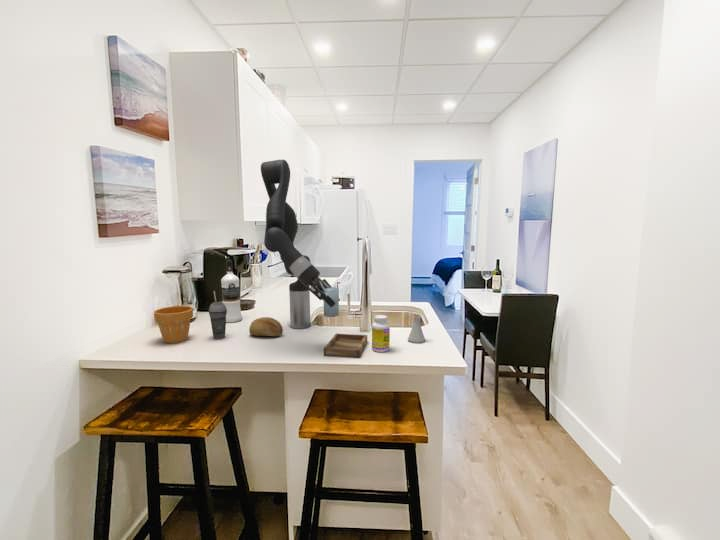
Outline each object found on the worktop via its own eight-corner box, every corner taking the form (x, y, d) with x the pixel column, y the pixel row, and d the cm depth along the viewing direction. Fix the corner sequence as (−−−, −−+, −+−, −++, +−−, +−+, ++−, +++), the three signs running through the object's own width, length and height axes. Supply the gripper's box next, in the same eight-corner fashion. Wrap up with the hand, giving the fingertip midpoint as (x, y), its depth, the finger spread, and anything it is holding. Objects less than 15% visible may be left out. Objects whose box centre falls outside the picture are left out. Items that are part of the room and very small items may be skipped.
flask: (427, 339, 150) (428, 315, 148) (422, 344, 143) (423, 319, 142) (410, 337, 153) (410, 313, 151) (405, 342, 146) (405, 317, 145)
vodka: (241, 317, 186) (238, 259, 182) (242, 322, 177) (239, 260, 174) (222, 319, 183) (219, 259, 179) (222, 323, 174) (218, 261, 171)
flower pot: (200, 339, 151) (198, 309, 149) (163, 348, 140) (161, 315, 139) (186, 332, 160) (184, 304, 159) (151, 340, 150) (148, 309, 148)
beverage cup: (222, 340, 149) (219, 293, 146) (206, 339, 150) (203, 292, 148) (231, 335, 156) (229, 289, 154) (216, 334, 158) (214, 289, 155)
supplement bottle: (384, 353, 133) (384, 319, 131) (368, 350, 137) (368, 317, 135) (392, 348, 139) (392, 315, 137) (377, 345, 142) (377, 313, 141)
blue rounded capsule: (326, 312, 139) (326, 287, 138) (340, 313, 138) (340, 287, 136) (321, 316, 134) (321, 289, 132) (336, 317, 132) (336, 290, 131)
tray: (336, 340, 149) (336, 333, 149) (367, 341, 147) (367, 335, 146) (323, 355, 131) (323, 348, 131) (358, 358, 129) (358, 350, 129)
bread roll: (277, 340, 150) (276, 321, 149) (244, 338, 153) (243, 319, 152) (286, 333, 159) (286, 315, 158) (255, 331, 162) (254, 314, 161)
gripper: (304, 266, 128) (337, 301, 127) (317, 262, 142) (347, 293, 141) (290, 280, 130) (323, 315, 129) (305, 275, 144) (334, 305, 143)
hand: (335, 303), depth 135 cm, fingers closed on blue rounded capsule, 5 cm apart
